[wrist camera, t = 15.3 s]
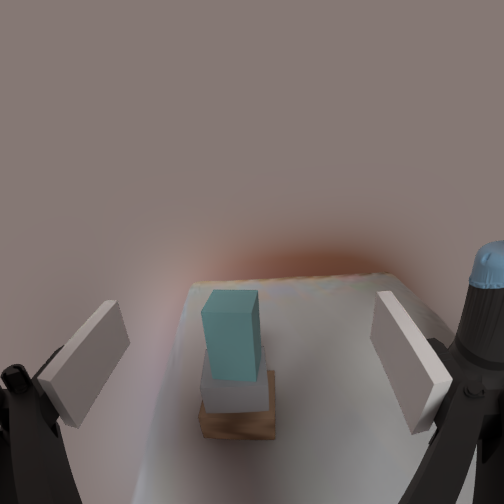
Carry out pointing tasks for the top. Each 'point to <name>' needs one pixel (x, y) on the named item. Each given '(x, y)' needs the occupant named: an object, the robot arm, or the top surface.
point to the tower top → (234, 391)
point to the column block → (233, 334)
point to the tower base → (241, 421)
